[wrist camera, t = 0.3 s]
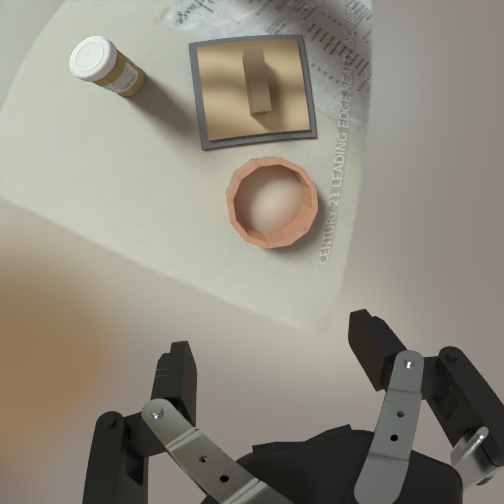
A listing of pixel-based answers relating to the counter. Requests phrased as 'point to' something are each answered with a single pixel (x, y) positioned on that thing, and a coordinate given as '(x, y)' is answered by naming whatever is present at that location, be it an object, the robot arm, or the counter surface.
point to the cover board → (234, 89)
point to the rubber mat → (258, 137)
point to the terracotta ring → (271, 202)
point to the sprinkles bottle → (106, 66)
